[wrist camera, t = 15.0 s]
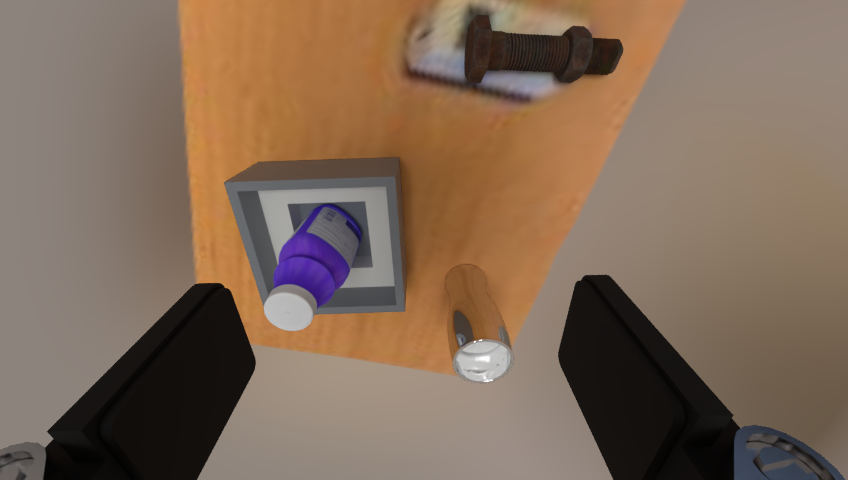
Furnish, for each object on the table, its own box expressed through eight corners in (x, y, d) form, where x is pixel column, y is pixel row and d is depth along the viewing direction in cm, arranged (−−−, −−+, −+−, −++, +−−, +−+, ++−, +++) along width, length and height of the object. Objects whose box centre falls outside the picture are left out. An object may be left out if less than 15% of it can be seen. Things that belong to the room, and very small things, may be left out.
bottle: (299, 220, 42) (230, 307, 27) (328, 191, 41) (273, 267, 25) (342, 256, 45) (302, 354, 30) (371, 230, 43) (345, 321, 28)
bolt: (594, 65, 37) (462, 59, 36) (619, 16, 33) (470, 7, 32) (610, 97, 34) (467, 91, 33) (640, 47, 30) (477, 38, 29)
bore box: (258, 161, 40) (223, 182, 33) (399, 157, 40) (395, 176, 33) (289, 279, 48) (266, 316, 41) (407, 275, 48) (404, 311, 41)
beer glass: (454, 254, 46) (469, 329, 33) (498, 271, 48) (528, 349, 34) (434, 292, 49) (439, 375, 36) (475, 306, 51) (495, 391, 37)
